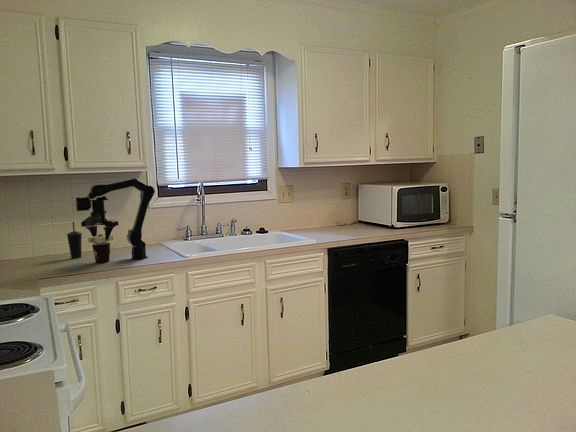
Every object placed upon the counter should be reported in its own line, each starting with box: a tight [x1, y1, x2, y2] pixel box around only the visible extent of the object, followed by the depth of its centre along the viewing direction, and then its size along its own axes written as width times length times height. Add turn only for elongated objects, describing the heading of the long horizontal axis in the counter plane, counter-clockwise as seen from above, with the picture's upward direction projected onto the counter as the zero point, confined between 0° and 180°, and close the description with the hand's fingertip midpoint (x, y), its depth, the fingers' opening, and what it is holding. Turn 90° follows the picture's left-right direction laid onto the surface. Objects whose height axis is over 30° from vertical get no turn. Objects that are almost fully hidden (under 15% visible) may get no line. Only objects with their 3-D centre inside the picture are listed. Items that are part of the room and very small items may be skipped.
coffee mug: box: [91, 241, 111, 264], centre depth 242 cm, size 12×9×10 cm
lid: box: [88, 233, 114, 244], centre depth 241 cm, size 7×10×4 cm
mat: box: [54, 262, 100, 272], centre depth 234 cm, size 14×16×1 cm
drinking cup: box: [66, 221, 83, 260], centre depth 256 cm, size 8×8×20 cm
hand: (101, 240), depth 241 cm, fingers closed on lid, 7 cm apart
